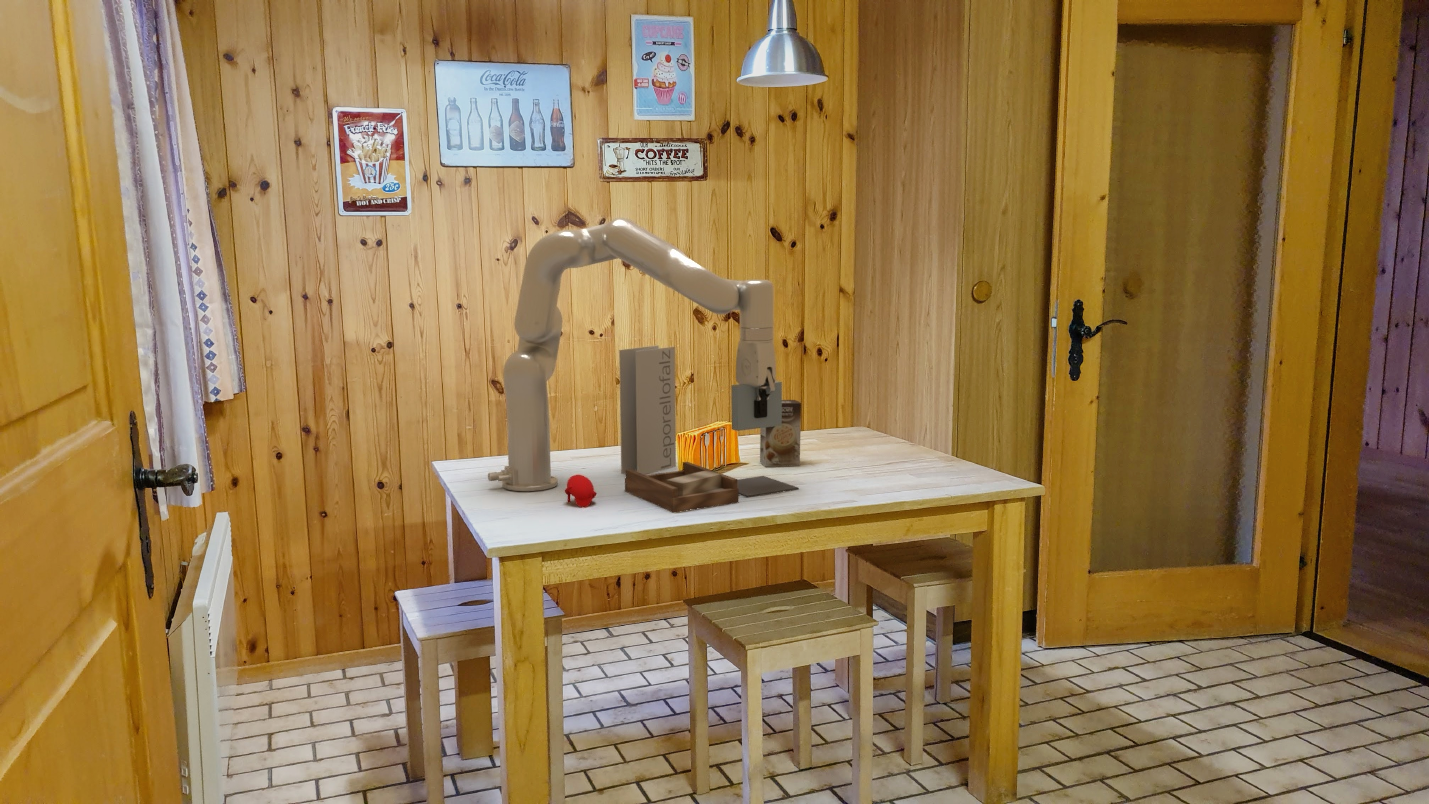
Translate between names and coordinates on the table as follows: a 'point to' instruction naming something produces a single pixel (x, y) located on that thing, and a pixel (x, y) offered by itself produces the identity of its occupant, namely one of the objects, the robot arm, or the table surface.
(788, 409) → the coffee box
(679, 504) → the tray
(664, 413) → the grey tall box
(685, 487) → the offcut upper
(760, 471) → the table surface
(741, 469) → the table surface
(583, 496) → the cap
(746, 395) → the grey rectangular panel
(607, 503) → the table surface
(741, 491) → the mat
